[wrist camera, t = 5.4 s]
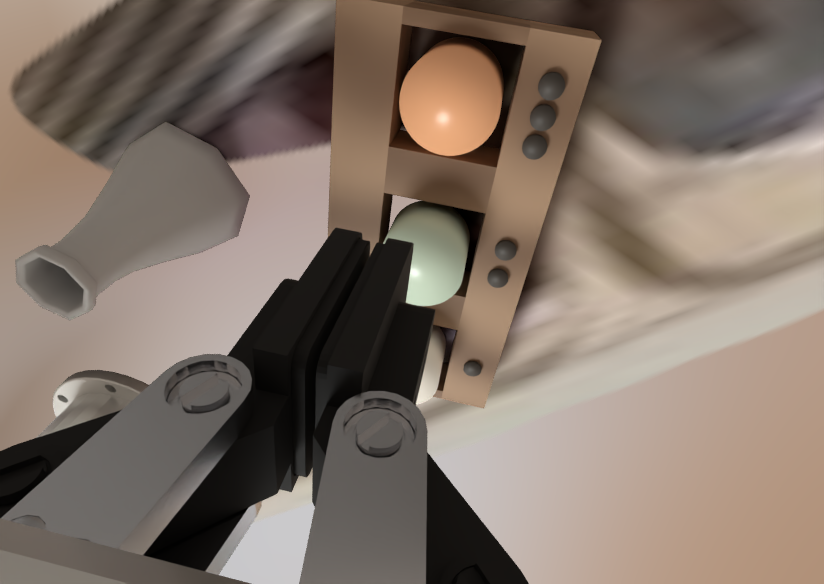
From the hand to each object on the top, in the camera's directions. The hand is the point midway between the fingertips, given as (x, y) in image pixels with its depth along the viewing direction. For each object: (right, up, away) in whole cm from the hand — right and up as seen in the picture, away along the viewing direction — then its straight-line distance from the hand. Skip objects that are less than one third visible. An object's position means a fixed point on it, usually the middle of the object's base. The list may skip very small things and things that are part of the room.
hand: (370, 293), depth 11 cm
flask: (-12, +6, +17) cm, 22 cm away
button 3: (+3, +9, +11) cm, 15 cm away
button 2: (+2, +3, +14) cm, 15 cm away
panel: (+2, +4, +15) cm, 16 cm away
